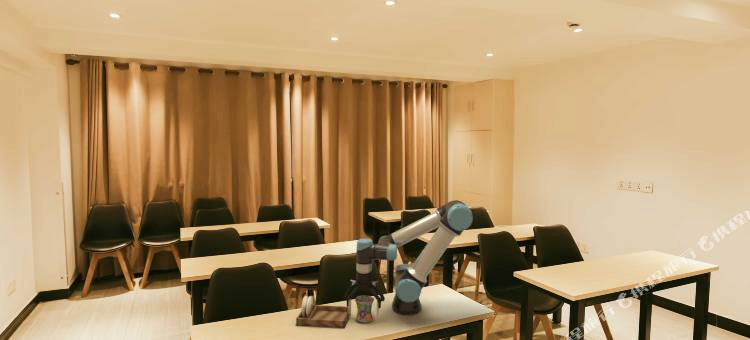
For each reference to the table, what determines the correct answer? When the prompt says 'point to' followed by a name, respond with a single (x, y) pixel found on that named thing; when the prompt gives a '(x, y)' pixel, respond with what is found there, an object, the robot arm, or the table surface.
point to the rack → (325, 317)
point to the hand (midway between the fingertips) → (363, 313)
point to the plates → (307, 306)
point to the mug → (364, 308)
